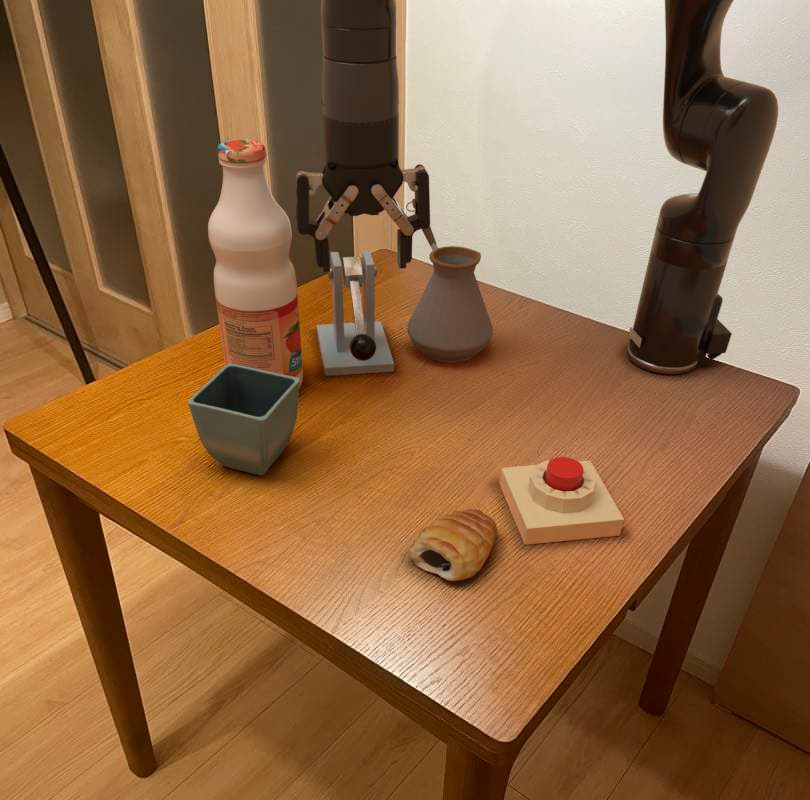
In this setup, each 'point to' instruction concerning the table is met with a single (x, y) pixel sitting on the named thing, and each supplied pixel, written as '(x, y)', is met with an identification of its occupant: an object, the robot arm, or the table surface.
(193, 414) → the flower pot
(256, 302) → the fruit juice
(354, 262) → the lever
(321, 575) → the table surface
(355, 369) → the bracket
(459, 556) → the pastry
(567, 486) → the button
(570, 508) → the button block
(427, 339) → the coffee pot
